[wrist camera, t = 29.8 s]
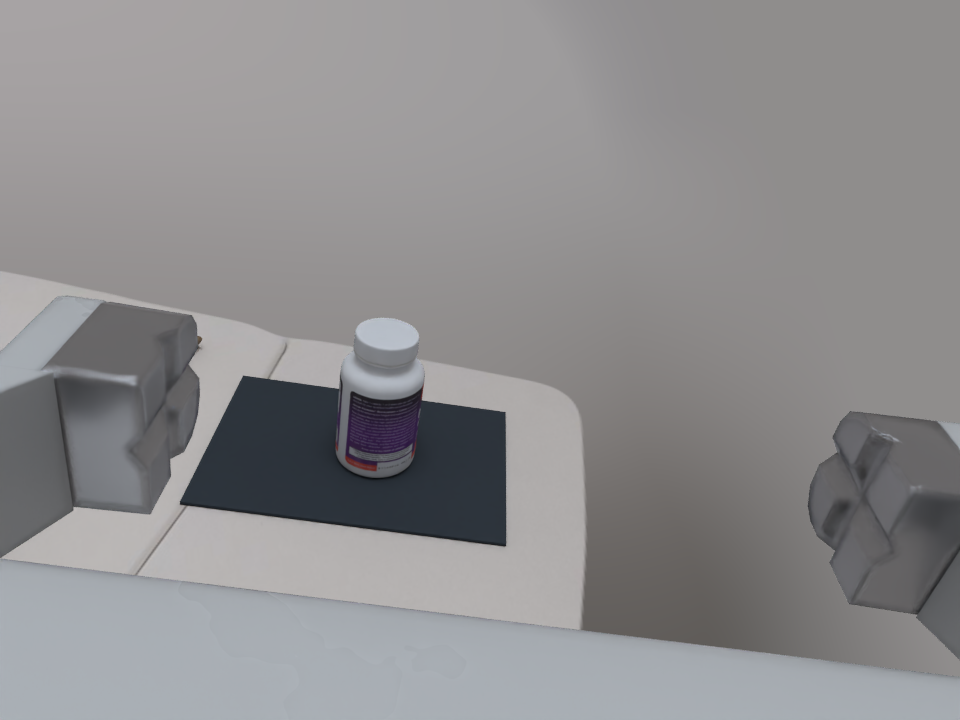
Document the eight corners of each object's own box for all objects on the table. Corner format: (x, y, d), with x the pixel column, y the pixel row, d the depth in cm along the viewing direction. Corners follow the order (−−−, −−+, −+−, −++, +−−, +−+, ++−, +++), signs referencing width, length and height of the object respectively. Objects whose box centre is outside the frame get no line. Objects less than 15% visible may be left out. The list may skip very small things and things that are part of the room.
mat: (505, 414, 62) (505, 412, 62) (505, 546, 50) (506, 543, 50) (243, 377, 61) (243, 375, 61) (180, 504, 49) (179, 501, 49)
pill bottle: (429, 464, 55) (448, 343, 50) (363, 491, 52) (375, 365, 47) (384, 421, 58) (397, 304, 53) (319, 444, 55) (326, 322, 50)
